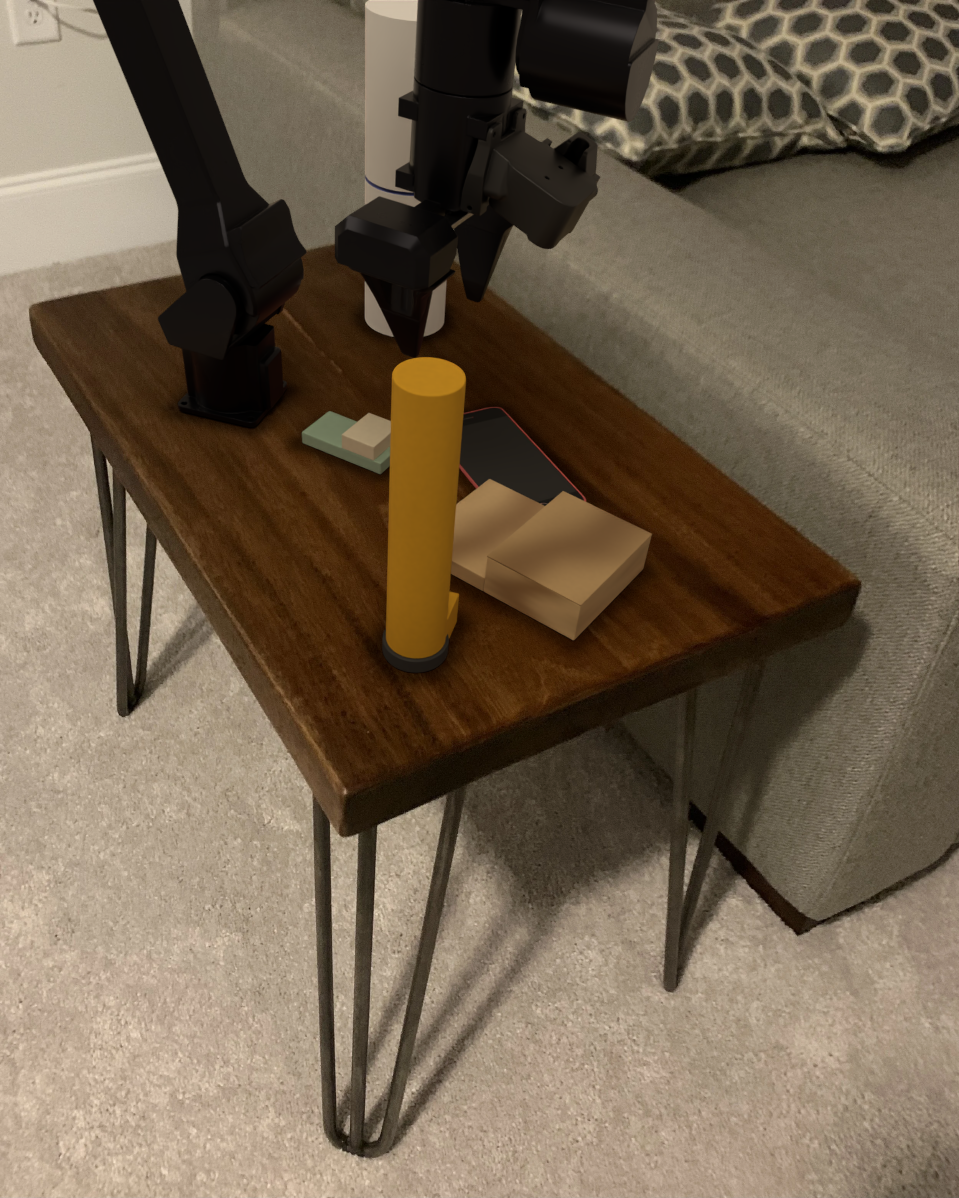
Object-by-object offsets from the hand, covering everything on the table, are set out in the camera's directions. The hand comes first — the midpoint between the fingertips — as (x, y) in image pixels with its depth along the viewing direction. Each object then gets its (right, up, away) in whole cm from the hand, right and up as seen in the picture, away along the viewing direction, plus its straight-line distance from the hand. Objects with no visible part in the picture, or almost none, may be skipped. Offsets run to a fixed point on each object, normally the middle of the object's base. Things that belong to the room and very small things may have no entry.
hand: (443, 326), depth 70 cm
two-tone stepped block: (-7, -7, +8) cm, 13 cm away
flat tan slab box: (+6, -16, 0) cm, 17 cm away
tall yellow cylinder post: (-2, -21, -7) cm, 23 cm away
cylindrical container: (-4, +7, +23) cm, 25 cm away
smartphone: (+4, -9, +8) cm, 13 cm away
